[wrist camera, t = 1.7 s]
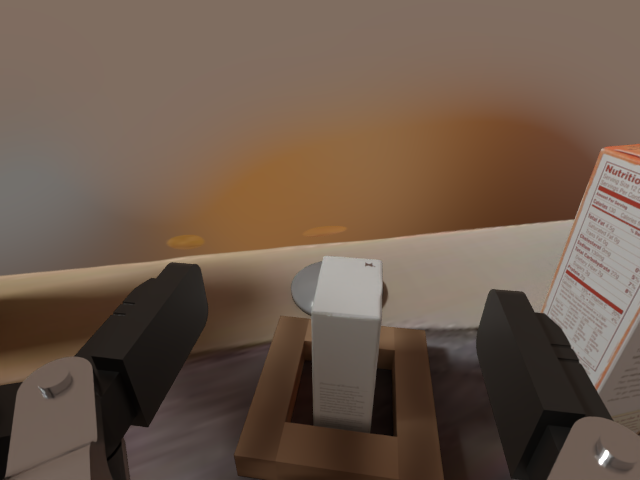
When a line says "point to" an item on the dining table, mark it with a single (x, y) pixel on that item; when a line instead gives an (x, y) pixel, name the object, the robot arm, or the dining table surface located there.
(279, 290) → the dining table surface
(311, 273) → the slate coaster
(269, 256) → the dining table surface
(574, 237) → the cracker box
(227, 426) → the dining table surface
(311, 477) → the pocket block
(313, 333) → the skincare box
